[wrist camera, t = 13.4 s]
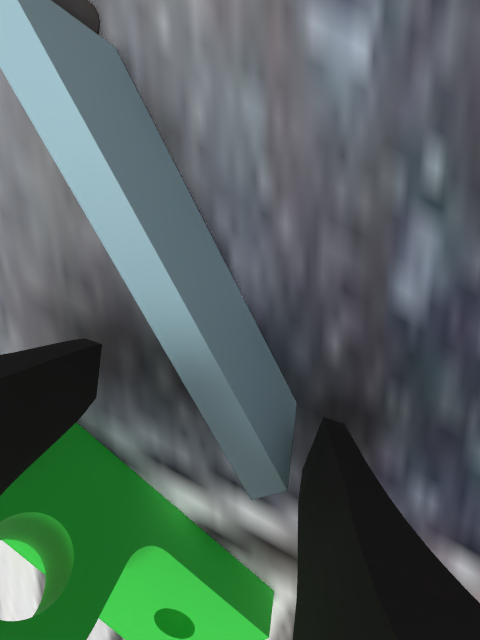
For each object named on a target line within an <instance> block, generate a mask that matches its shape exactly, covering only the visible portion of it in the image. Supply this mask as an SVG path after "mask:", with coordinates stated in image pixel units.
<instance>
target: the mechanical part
mask: <svg viewBox="0 0 480 640" xmlns="http://www.w3.org/2000/svg"><path fill="white" fill-rule="evenodd" d="M0 540H3V541H4V542H5V543H6V544H8V545H9V546H10V547H11V548H13V549H14V550H15V551H16V552H18V553H19V554H20V555H21V556H22V557H24V558H25V559H26V560H27V561H29V562H30V563H31V564H32V565H34V566H35V567H36V568H37V569H39V570H40V571H41V572H42V573H44V574H45V575H46V582H45V590H44V594H43V598H42V600H41V603H40V605H39V607H38V609H37V611H36V613H35V614H34V616H33V617H32V618H29V619H26V620H21V621H2V620H0V640H86V639H87V638H88V636H89V634H90V633H91V631H92V629H93V627H94V626H95V624H96V622H97V620H98V618H99V619H101V620H102V621H103V622H104V623H106V624H107V625H108V626H109V627H110V628H112V629H113V630H114V631H115V632H117V633H118V634H119V635H120V636H122V637H123V638H124V639H125V640H265V639H267V638H269V632H270V623H271V614H272V605H273V596H274V591H273V590H272V589H271V588H270V587H269V586H267V585H266V584H265V583H264V582H263V581H262V580H260V579H259V578H258V577H257V576H256V575H254V574H253V573H252V572H251V571H250V570H249V569H247V568H246V567H245V566H244V565H243V564H242V563H240V562H239V561H238V560H237V559H236V558H235V557H233V556H232V555H231V554H230V553H229V552H228V551H226V550H225V549H224V548H223V547H222V546H221V545H219V544H218V543H217V542H216V541H215V540H214V539H212V538H211V537H210V536H209V535H208V534H206V533H205V532H204V531H203V530H202V529H201V528H199V527H198V526H197V525H196V524H195V523H194V522H192V521H191V520H190V519H189V518H188V517H187V516H185V515H184V514H183V513H182V512H181V511H180V510H178V509H177V508H176V507H175V506H174V505H173V504H171V503H170V502H169V501H168V500H167V499H165V498H164V497H163V496H162V495H161V494H160V493H158V492H157V491H156V490H155V489H154V488H153V487H151V486H150V485H149V484H148V483H147V482H146V481H144V480H143V479H142V478H141V477H140V476H139V475H137V474H136V473H135V472H134V471H133V470H132V469H130V468H129V467H128V466H127V465H126V464H125V463H123V462H122V461H121V460H120V459H119V458H117V457H116V456H115V455H114V454H113V453H112V452H110V451H109V450H108V449H107V448H106V447H105V446H103V445H102V444H101V443H100V442H99V441H98V440H96V439H95V438H94V437H93V436H92V435H91V434H89V433H88V432H87V431H86V430H85V429H84V428H82V427H81V426H80V425H79V424H78V423H77V422H76V423H75V424H74V425H73V426H72V427H71V428H70V429H69V430H68V431H67V432H66V433H65V434H64V435H63V436H62V437H60V438H59V439H58V440H57V441H56V442H55V443H54V444H53V445H52V446H51V447H50V448H49V449H48V450H47V451H46V452H44V453H43V454H42V455H41V456H40V457H39V458H38V459H37V460H36V461H35V462H34V463H33V464H32V465H31V466H30V467H28V468H27V469H26V470H25V471H24V472H23V473H22V474H21V475H20V476H19V477H18V478H17V479H16V480H15V481H14V482H13V483H12V484H11V485H10V486H9V487H8V488H7V489H6V490H5V491H4V492H3V494H2V495H1V496H0Z"/></svg>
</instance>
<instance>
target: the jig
mask: <svg viewBox="0 0 480 640" xmlns="http://www.w3.org/2000/svg"><path fill="white" fill-rule="evenodd" d="M51 1H53V2H54V3H55V4H57V5H58V6H60V7H61V8H62V9H64V10H65V11H66V12H68V13H69V14H70V15H72V16H73V17H75V18H76V19H77V20H79V21H80V22H81V23H83V24H84V25H85V26H87V27H88V28H89V29H91V30H92V31H94V32H95V33H96V34H97V33H98V30H99V17H98V13H97V11H96V9H95V7H94V6H93V5H92V4H91V3H90V2H89V1H88V0H51Z"/></svg>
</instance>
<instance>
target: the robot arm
mask: <svg viewBox="0 0 480 640" xmlns="http://www.w3.org/2000/svg"><path fill="white" fill-rule="evenodd" d="M101 348H102V344H100V343H97V342H94V341H91V340H88V339H77V340H71V341H66V342H61V343H56V344H51V345H47V346H42V347H37V348H33V349H28V350H24V351H19V352H14V353H9V354H3V355H0V496H1V495H2V494H3V492H4V491H5V490H6V489H7V488H8V487H9V486H10V485H11V484H12V483H13V482H14V481H15V480H16V479H17V478H18V477H19V476H20V475H21V474H22V473H23V472H24V471H25V470H26V469H27V468H28V467H30V466H31V465H32V464H33V463H34V462H35V461H36V460H37V459H38V458H39V457H40V456H41V455H42V454H43V453H44V452H46V451H47V450H48V449H49V448H50V447H51V446H52V445H53V444H54V443H55V442H56V441H57V440H58V439H59V438H60V437H62V436H63V435H64V434H65V433H66V432H67V431H68V430H69V429H70V428H71V427H72V426H73V425H74V424H75V423H76V422H77V421H78V420H79V418H80V417H81V416H82V415H83V414H84V413H85V411H86V410H87V409H88V407H89V406H90V405H91V404H92V402H93V401H94V400H95V399H96V394H97V385H98V376H99V367H100V358H101ZM293 640H480V603H479V602H478V601H477V600H476V599H475V598H474V597H473V596H472V595H471V594H470V593H469V592H468V591H467V590H466V589H465V588H464V587H463V586H462V585H461V583H460V582H459V581H458V580H457V579H456V578H455V577H454V576H453V575H452V574H451V573H450V572H449V570H448V569H447V568H446V567H445V566H444V565H443V564H442V563H441V562H440V561H439V560H438V558H437V557H436V556H435V555H434V554H433V553H432V552H431V550H430V549H429V548H428V547H427V546H426V544H425V543H424V542H423V541H422V540H421V538H420V537H419V536H418V535H417V533H416V532H415V531H414V530H413V528H412V527H411V526H410V525H409V524H408V522H407V521H406V520H405V518H404V517H403V516H402V514H401V513H400V512H399V510H398V509H397V508H396V506H395V505H394V503H393V502H392V500H391V499H390V498H389V496H388V495H387V493H386V492H385V490H384V489H383V487H382V486H381V484H380V483H379V481H378V480H377V478H376V477H375V475H374V474H373V472H372V470H371V469H370V467H369V466H368V464H367V462H366V461H365V459H364V457H363V456H362V454H361V452H360V450H359V449H358V447H357V445H356V444H355V442H354V440H353V438H352V437H351V435H350V433H349V431H348V430H347V428H346V426H345V425H344V423H340V422H337V421H334V420H331V419H328V418H325V417H323V420H322V422H321V425H320V427H319V430H318V432H317V435H316V437H315V440H314V442H313V445H312V447H311V450H310V452H309V455H308V457H307V460H306V462H305V465H304V467H303V471H302V478H301V485H300V493H299V501H298V583H297V603H296V613H295V623H294V633H293Z"/></svg>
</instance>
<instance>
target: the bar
mask: <svg viewBox="0 0 480 640" xmlns="http://www.w3.org/2000/svg"><path fill="white" fill-rule="evenodd" d="M0 68H1V69H2V71H3V73H4V75H5V76H6V78H7V80H8V82H9V83H10V85H11V87H12V88H13V90H14V92H15V94H16V95H17V97H18V99H19V100H20V102H21V104H22V106H23V107H24V109H25V111H26V113H27V114H28V116H29V118H30V119H31V121H32V123H33V125H34V126H35V128H36V130H37V132H38V133H39V135H40V137H41V138H42V140H43V142H44V144H45V145H46V147H47V149H48V150H49V152H50V154H51V156H52V157H53V159H54V161H55V163H56V164H57V166H58V168H59V169H60V171H61V173H62V175H63V176H64V178H65V180H66V182H67V183H68V185H69V187H70V188H71V190H72V192H73V194H74V195H75V197H76V199H77V200H78V202H79V204H80V206H81V207H82V209H83V211H84V213H85V214H86V216H87V218H88V219H89V221H90V223H91V225H92V226H93V228H94V230H95V232H96V233H97V235H98V237H99V238H100V240H101V242H102V244H103V245H104V247H105V249H106V250H107V252H108V254H109V256H110V257H111V259H112V261H113V263H114V264H115V266H116V268H117V269H118V271H119V273H120V275H121V276H122V278H123V280H124V282H125V283H126V285H127V287H128V288H129V290H130V292H131V294H132V295H133V297H134V299H135V300H136V302H137V304H138V306H139V307H140V309H141V311H142V313H143V314H144V316H145V318H146V319H147V321H148V323H149V325H150V326H151V328H152V330H153V332H154V333H155V335H156V337H157V338H158V340H159V342H160V344H161V345H162V347H163V349H164V350H165V352H166V354H167V356H168V357H169V359H170V361H171V363H172V364H173V366H174V368H175V369H176V371H177V373H178V375H179V376H180V378H181V380H182V382H183V383H184V385H185V387H186V388H187V390H188V392H189V394H190V395H191V397H192V399H193V401H194V402H195V404H196V406H197V407H198V409H199V411H200V413H201V414H202V416H203V418H204V419H205V421H206V423H207V425H208V426H209V428H210V430H211V432H212V433H213V435H214V437H215V438H216V440H217V442H218V444H219V445H220V447H221V449H222V451H223V452H224V454H225V456H226V457H227V459H228V461H229V463H230V464H231V466H232V468H233V469H234V471H235V473H236V475H237V476H238V478H239V480H240V482H241V483H242V485H243V487H244V488H245V490H246V492H247V494H248V495H249V497H250V499H251V500H253V499H257V498H261V497H265V496H269V495H273V494H277V493H281V492H285V491H288V481H289V472H290V462H291V452H292V443H293V433H294V424H295V414H296V405H297V402H296V400H295V398H294V396H293V395H292V393H291V391H290V389H289V387H288V385H287V383H286V381H285V379H284V377H283V375H282V373H281V371H280V369H279V367H278V365H277V363H276V361H275V359H274V357H273V355H272V353H271V351H270V349H269V348H268V346H267V344H266V342H265V340H264V338H263V336H262V334H261V332H260V330H259V328H258V326H257V324H256V322H255V320H254V318H253V316H252V314H251V312H250V310H249V308H248V306H247V304H246V302H245V301H244V299H243V297H242V295H241V293H240V291H239V289H238V287H237V285H236V283H235V281H234V279H233V277H232V275H231V273H230V271H229V269H228V267H227V265H226V263H225V261H224V259H223V257H222V255H221V254H220V252H219V250H218V248H217V246H216V244H215V242H214V240H213V238H212V236H211V234H210V232H209V230H208V228H207V226H206V224H205V222H204V220H203V218H202V216H201V214H200V212H199V210H198V209H197V207H196V205H195V203H194V201H193V199H192V197H191V195H190V193H189V191H188V189H187V187H186V185H185V183H184V181H183V179H182V177H181V175H180V173H179V171H178V169H177V167H176V165H175V163H174V162H173V160H172V158H171V156H170V154H169V152H168V150H167V148H166V146H165V144H164V142H163V140H162V138H161V136H160V134H159V132H158V130H157V128H156V126H155V124H154V122H153V120H152V118H151V116H150V115H149V113H148V111H147V109H146V107H145V105H144V103H143V101H142V99H141V97H140V95H139V93H138V91H137V89H136V87H135V85H134V83H133V81H132V79H131V77H130V75H129V73H128V71H127V69H126V68H125V66H124V64H123V62H122V60H121V58H120V56H119V54H118V52H117V50H116V48H115V47H114V46H113V45H111V44H110V43H108V42H107V41H106V40H104V39H103V38H102V37H100V36H99V35H98V34H96V33H95V32H94V31H92V30H91V29H89V28H88V27H87V26H85V25H84V24H83V23H81V22H80V21H79V20H77V19H76V18H75V17H73V16H72V15H70V14H69V13H68V12H66V11H65V10H64V9H62V8H61V7H60V6H58V5H57V4H55V3H54V2H53V1H51V0H0Z"/></svg>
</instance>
